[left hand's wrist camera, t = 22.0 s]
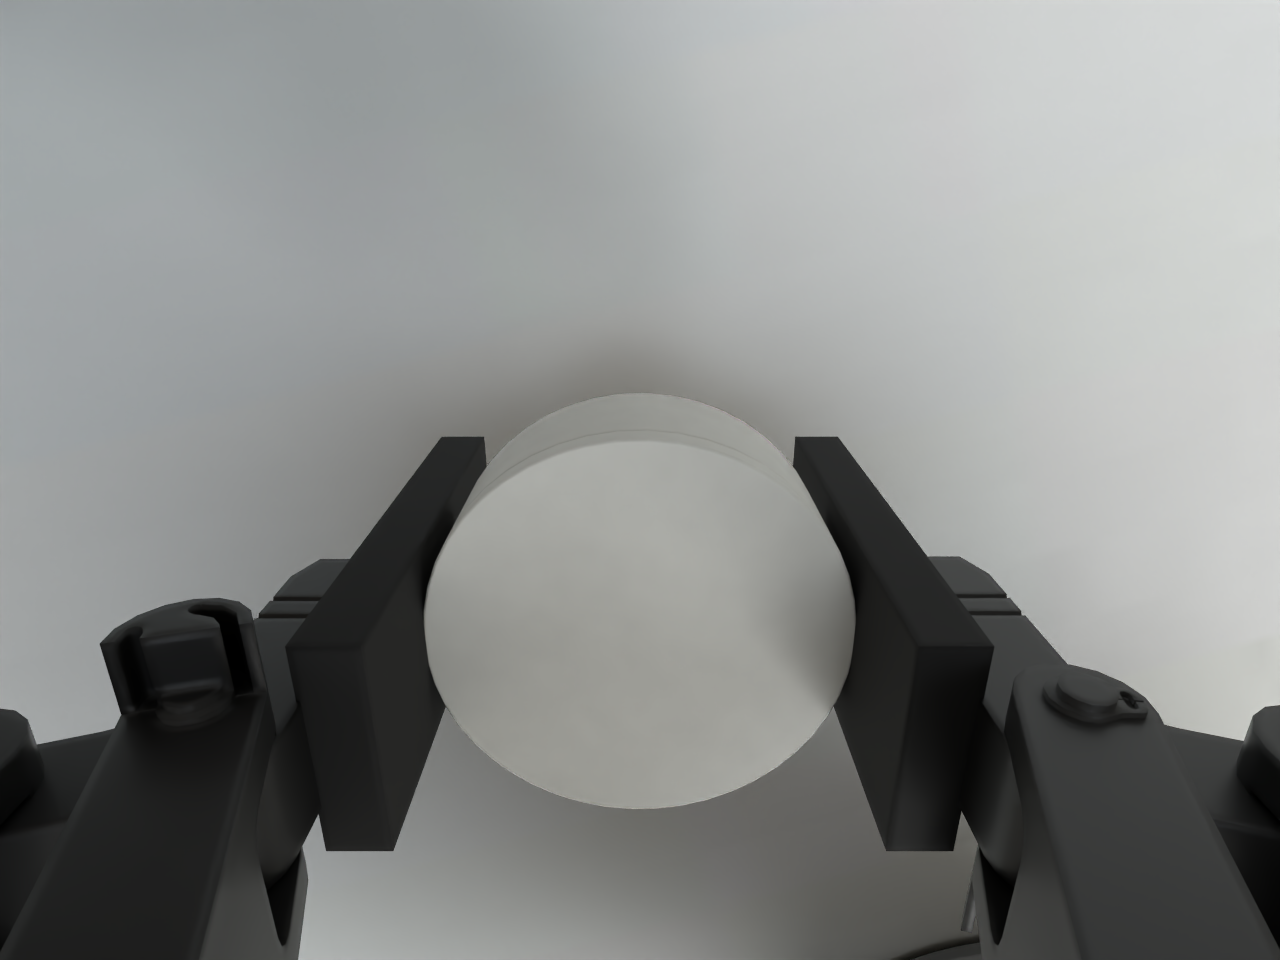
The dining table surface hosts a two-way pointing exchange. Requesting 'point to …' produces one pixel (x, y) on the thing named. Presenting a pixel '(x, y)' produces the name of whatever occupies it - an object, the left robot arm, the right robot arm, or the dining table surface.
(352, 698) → the left robot arm
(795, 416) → the dining table surface
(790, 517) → the lid
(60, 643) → the dining table surface
